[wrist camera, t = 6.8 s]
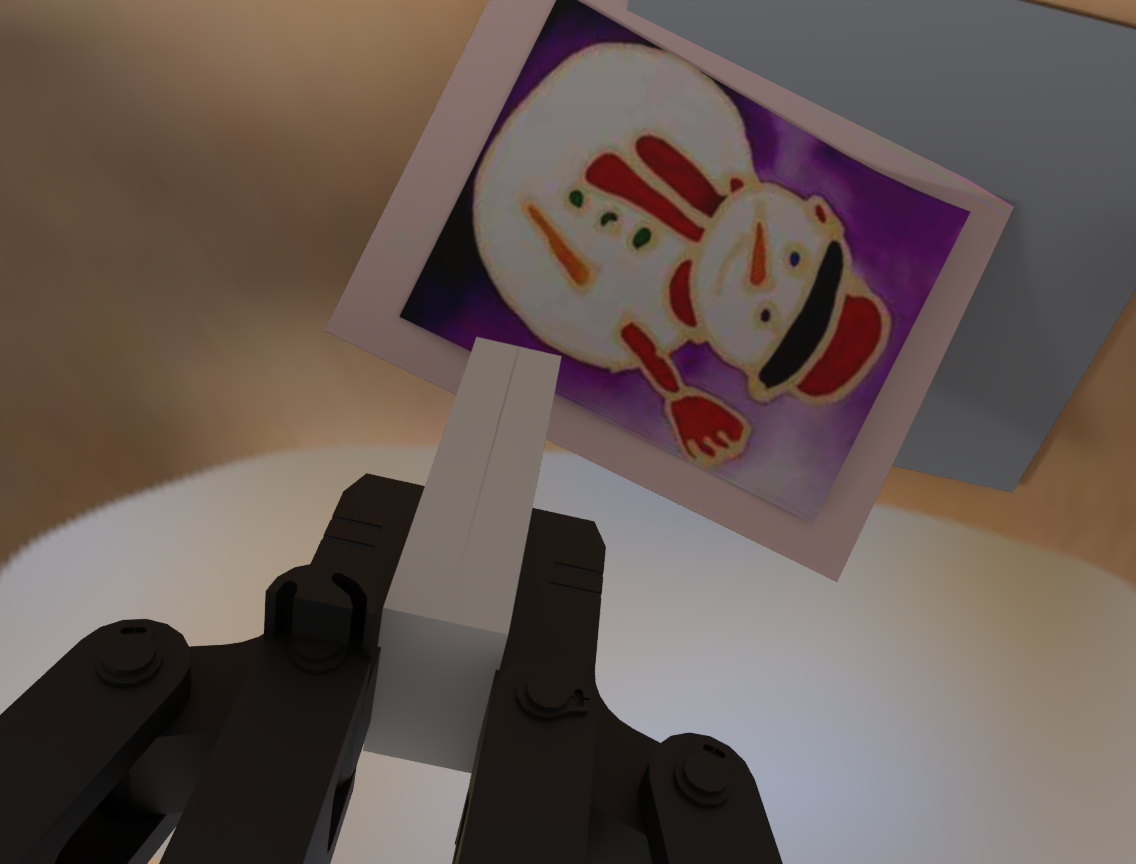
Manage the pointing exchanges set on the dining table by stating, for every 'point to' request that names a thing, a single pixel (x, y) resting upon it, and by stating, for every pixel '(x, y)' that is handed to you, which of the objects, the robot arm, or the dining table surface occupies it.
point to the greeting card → (678, 267)
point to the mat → (978, 181)
